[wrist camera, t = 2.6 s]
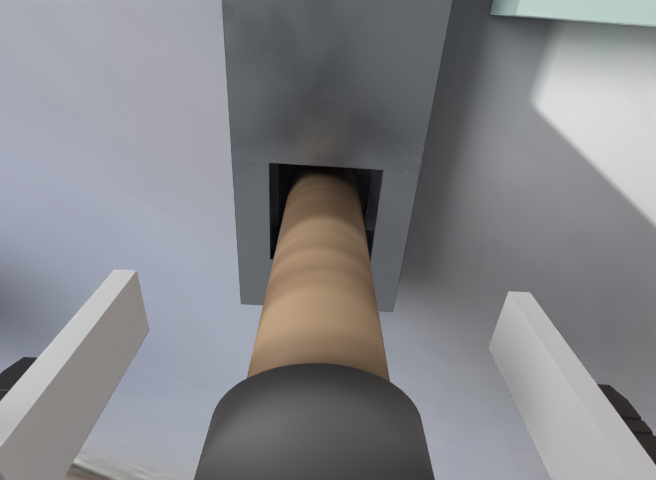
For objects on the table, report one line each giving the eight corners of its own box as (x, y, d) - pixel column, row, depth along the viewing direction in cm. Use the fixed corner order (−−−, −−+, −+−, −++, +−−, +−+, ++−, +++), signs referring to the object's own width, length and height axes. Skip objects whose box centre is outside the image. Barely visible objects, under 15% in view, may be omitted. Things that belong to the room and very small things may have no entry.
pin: (280, 142, 22) (176, 421, 7) (372, 147, 22) (463, 433, 7) (280, 222, 25) (204, 554, 10) (362, 227, 25) (413, 560, 10)
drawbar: (230, -277, 14) (198, -369, 11) (472, -254, 15) (517, -336, 11) (252, 265, 26) (240, 304, 23) (384, 272, 27) (392, 311, 23)
